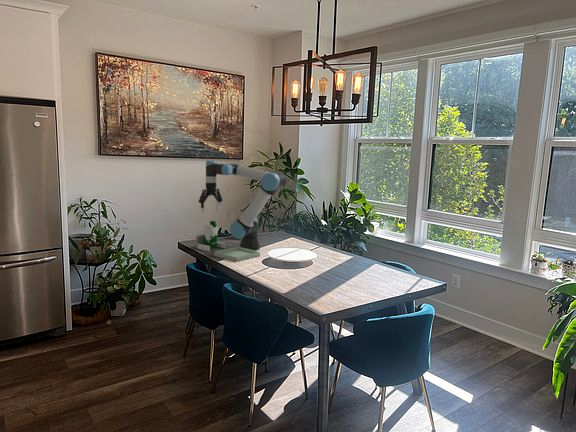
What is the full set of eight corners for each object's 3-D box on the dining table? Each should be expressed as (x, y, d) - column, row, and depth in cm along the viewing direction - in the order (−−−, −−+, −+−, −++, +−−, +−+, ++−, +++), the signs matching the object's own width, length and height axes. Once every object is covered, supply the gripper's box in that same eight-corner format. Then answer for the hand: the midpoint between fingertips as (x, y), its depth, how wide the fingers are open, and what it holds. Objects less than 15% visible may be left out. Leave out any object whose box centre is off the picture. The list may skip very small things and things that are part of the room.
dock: (225, 248, 309) (225, 236, 307) (208, 251, 297) (208, 238, 295) (212, 244, 317) (212, 233, 316) (196, 248, 305) (196, 235, 304)
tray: (259, 256, 288) (260, 252, 288) (236, 262, 271) (236, 257, 271) (237, 250, 302) (237, 246, 302) (214, 255, 285) (214, 251, 285)
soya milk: (210, 250, 301) (210, 222, 298) (201, 247, 306) (202, 220, 303) (219, 248, 308) (219, 221, 304) (211, 246, 313) (211, 219, 310)
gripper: (220, 181, 312) (220, 209, 315) (193, 182, 293) (193, 212, 296) (227, 182, 307) (227, 210, 310) (200, 183, 288) (200, 213, 291)
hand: (210, 211), depth 303 cm, fingers open, 13 cm apart
